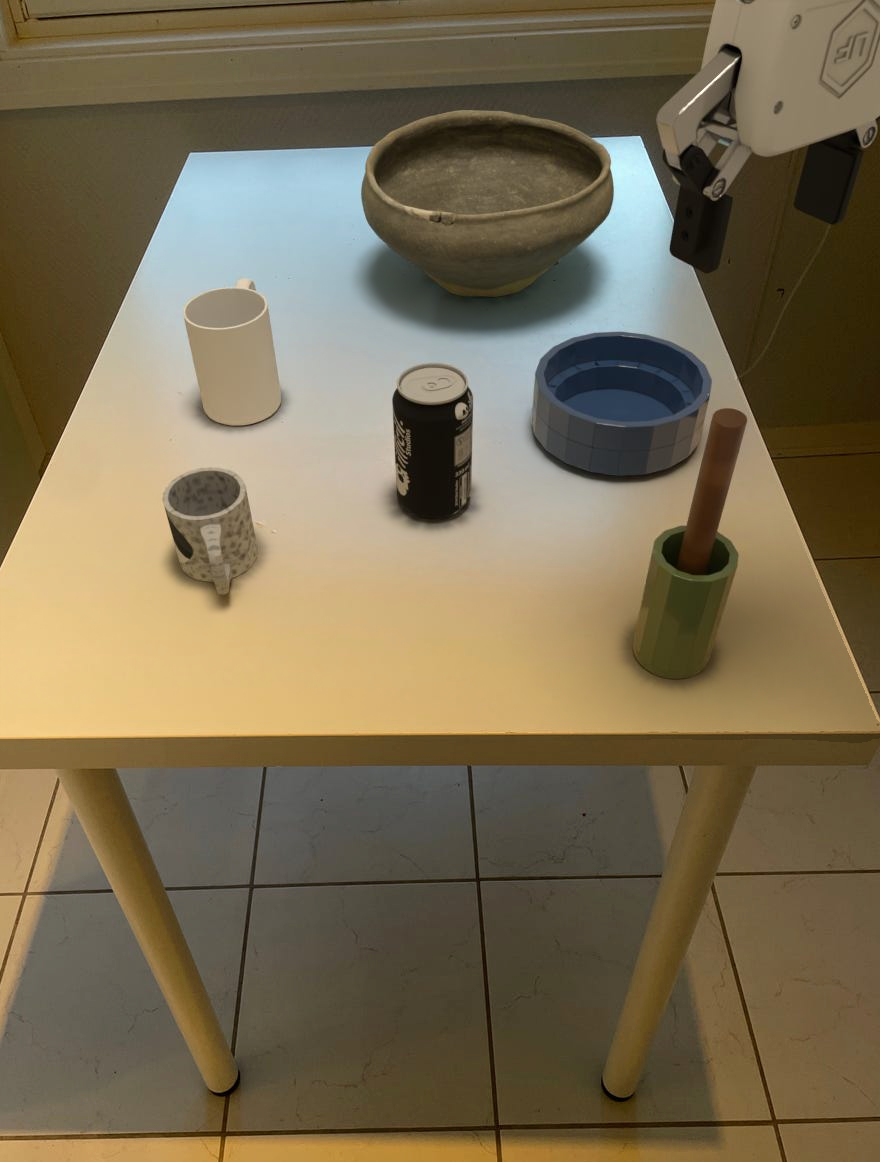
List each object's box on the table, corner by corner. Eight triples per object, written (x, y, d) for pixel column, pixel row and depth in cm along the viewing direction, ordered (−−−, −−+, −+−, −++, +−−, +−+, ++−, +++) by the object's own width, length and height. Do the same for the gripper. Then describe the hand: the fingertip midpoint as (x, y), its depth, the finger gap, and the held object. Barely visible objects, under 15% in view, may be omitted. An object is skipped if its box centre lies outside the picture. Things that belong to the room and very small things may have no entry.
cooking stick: (687, 636, 72) (748, 410, 58) (684, 656, 71) (746, 429, 56) (660, 631, 73) (714, 405, 58) (657, 651, 71) (711, 424, 57)
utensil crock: (711, 631, 74) (740, 532, 66) (705, 686, 70) (735, 588, 63) (637, 617, 75) (658, 519, 68) (627, 671, 71) (648, 573, 64)
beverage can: (385, 489, 87) (378, 372, 78) (450, 468, 89) (450, 352, 80) (416, 532, 83) (412, 413, 74) (484, 509, 84) (488, 391, 76)
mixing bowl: (704, 397, 95) (717, 342, 90) (690, 494, 85) (704, 437, 80) (548, 377, 98) (553, 323, 94) (516, 468, 88) (520, 412, 84)
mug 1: (272, 429, 94) (256, 330, 86) (194, 425, 95) (171, 327, 87) (297, 362, 102) (285, 266, 94) (225, 359, 103) (207, 264, 95)
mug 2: (176, 536, 83) (160, 474, 79) (252, 523, 84) (240, 461, 79) (185, 616, 77) (167, 554, 72) (267, 601, 78) (255, 539, 73)
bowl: (404, 216, 125) (400, 98, 115) (618, 235, 119) (634, 113, 109) (335, 324, 107) (323, 196, 97) (583, 353, 101) (598, 220, 91)
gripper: (773, -108, 36) (690, 311, 49) (1053, -167, 42) (914, 221, 55) (638, -135, 41) (594, 256, 53) (909, -184, 47) (811, 178, 59)
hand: (756, 238), depth 54 cm, fingers open, 9 cm apart
